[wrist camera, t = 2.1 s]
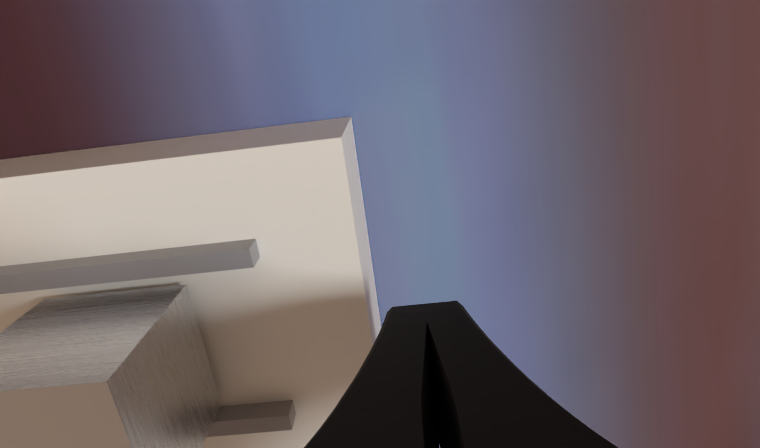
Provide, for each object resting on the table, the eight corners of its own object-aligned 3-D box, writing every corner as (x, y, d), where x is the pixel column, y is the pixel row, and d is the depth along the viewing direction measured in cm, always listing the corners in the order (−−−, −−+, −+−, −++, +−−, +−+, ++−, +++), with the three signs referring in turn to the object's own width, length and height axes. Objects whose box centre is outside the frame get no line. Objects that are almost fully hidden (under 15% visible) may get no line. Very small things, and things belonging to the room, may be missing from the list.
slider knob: (221, 404, 11) (163, 530, 8) (91, 415, 11) (-8, 542, 8) (186, 283, 10) (106, 382, 7) (44, 298, 10) (-89, 399, 7)
